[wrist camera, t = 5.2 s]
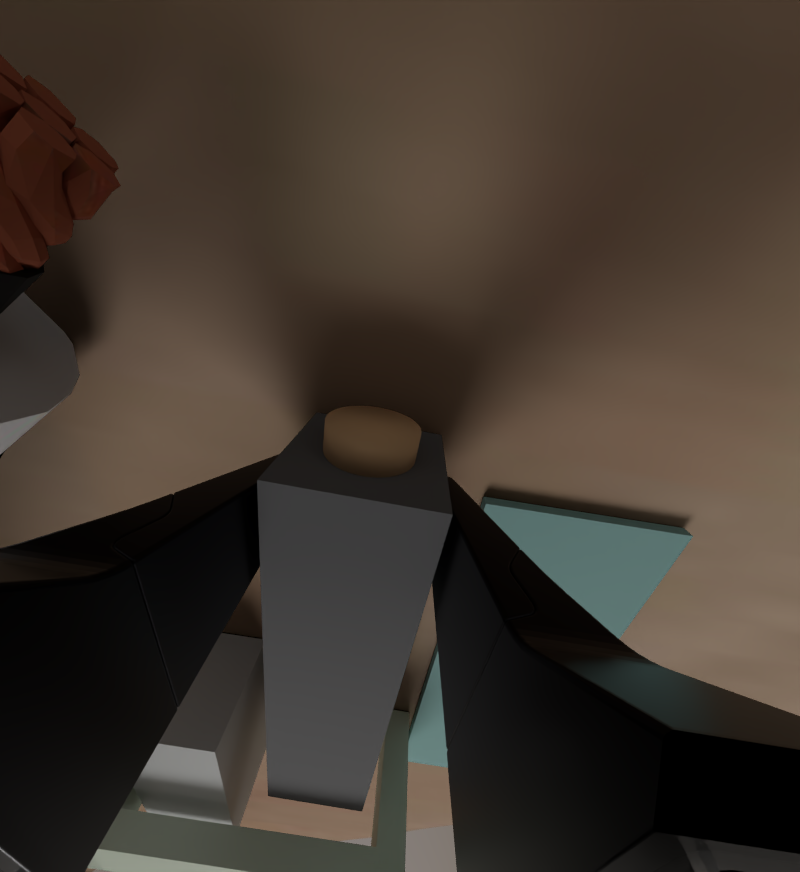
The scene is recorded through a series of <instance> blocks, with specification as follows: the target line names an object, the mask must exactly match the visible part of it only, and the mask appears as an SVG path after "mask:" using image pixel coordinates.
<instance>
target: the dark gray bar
mask: <svg viewBox="0 0 800 872" xmlns="http://www.w3.org/2000/svg"><path fill="white" fill-rule="evenodd" d="M257 494H258V522H259V551H260V579H261V607H262V636H263V664H264V692H265V721H266V749H267V777H268V796H271V797H277V798H283V799H289V800H296V801H302V802H308V803H314V804H320V805H326V806H332V807H338V808H344V809H351V810H357V811H362V809H363V806H364V803H365V800H366V796H367V793H368V790H369V787H370V783H371V780H372V777H373V774H374V770H375V767H376V764H377V760H378V757H379V754H380V751H381V747H382V744H383V741H384V738H385V734H386V731H387V728H388V725H389V721H390V718H391V715H392V711H393V708H394V705H395V702H396V698H397V695H398V692H399V689H400V685H401V682H402V679H403V676H404V672H405V669H406V666H407V662H408V659H409V656H410V653H411V649H412V646H413V643H414V640H415V636H416V633H417V630H418V627H419V623H420V620H421V617H422V613H423V610H424V607H425V604H426V600H427V597H428V594H429V591H430V587H431V584H432V581H433V578H434V574H435V571H436V568H437V565H438V561H439V558H440V555H441V551H442V548H443V545H444V542H445V538H446V535H447V532H448V529H449V525H450V522H451V519H452V516H453V513H452V506H451V499H450V492H449V485H448V478H447V471H446V464H445V457H444V450H443V443H442V436H441V435H439V434H433V433H428V432H422V431H421V428H420V426H419V425H418V424H417V423H416V422H415V421H414V420H412V419H411V418H409V417H407V416H405V415H403V414H401V413H398V412H396V411H392V410H389V409H385V408H380V407H373V406H347V407H341V408H338V409H335V410H333V411H331V412H329V413H328V414H323V413H316V414H315V415H314V416H313V417H312V418H311V420H310V421H309V422H308V423H307V424H306V425H305V426H304V428H303V429H302V430H301V431H300V432H299V433H298V434H297V435H296V437H295V438H294V439H293V440H292V441H291V442H290V443H289V444H288V446H287V447H286V448H285V449H284V450H283V451H282V452H281V453H280V455H279V456H278V457H277V458H276V459H275V460H274V461H273V462H272V464H271V465H270V466H269V467H268V468H267V469H266V470H265V471H264V473H263V474H262V475H261V476H260V477H259V478H258V479H257Z"/></svg>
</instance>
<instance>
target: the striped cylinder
mask: <svg viewBox="0 0 800 872" xmlns="http://www.w3.org/2000/svg"><path fill="white" fill-rule="evenodd" d="M75 120H76V118H75V117H74V116H73V115H72V114H71V112H70V111H69V110H68V109H67V108H66V107H65V106H64V105H63V104H62V103H61V102H60V101H59V100H58V99H57V97H56V96H55V95H54V94H53V93H52V92H51V91H50V90H48V89H47V88H46V87H44V86H43V85H41V84H40V83H39V82H37V81H36V80H35V79H33V78H32V77H30V76H29V75H28V76H26V77H25V78H24V79H23V78H22V76H21V75H20V74H19V73H18V72H17V71H16V70H15V69H14V68H13V67H12V66H11V65H10V64H9V63H8V62H7V61H6V60H5V59H4V58H3V57H2V56H1V55H0V458H1V456H2V455H3V453H4V452H5V451H6V449H7V448H9V447H10V446H11V445H12V444H13V443H14V442H16V441H17V440H18V439H19V438H20V437H21V436H22V435H24V434H25V433H26V432H27V431H28V430H29V429H31V428H32V427H33V426H34V425H35V424H36V423H38V422H39V421H40V420H41V419H42V418H43V417H44V416H46V415H47V414H48V413H49V412H50V411H51V410H53V409H54V408H55V407H56V406H57V405H58V404H60V403H61V402H62V401H63V400H64V399H65V398H66V397H68V396H69V395H70V394H71V393H72V390H73V388H74V386H75V384H76V382H77V379H78V377H79V375H80V374H79V370H78V365H77V360H76V356H75V351H74V346H73V343H72V342H71V341H70V339H69V338H68V337H67V335H66V334H65V332H64V331H63V330H62V329H61V328H60V327H59V326H58V325H57V324H56V323H55V322H54V321H53V320H52V319H51V318H50V317H48V316H47V315H46V314H45V313H44V312H43V311H42V310H41V309H40V308H39V307H38V306H37V305H36V304H35V303H34V302H33V301H32V300H31V299H30V298H29V297H28V296H27V295H26V294H25V293H24V291H25V290H26V289H27V288H28V287H29V286H30V285H31V284H32V283H33V282H34V281H36V280H37V279H38V278H39V277H40V276H41V275H42V274H43V273H44V265H43V264H44V263H45V262H46V261H47V260H48V259H49V254H48V250H47V246H49V245H57V244H63V243H66V242H67V241H68V240H69V239H70V238H71V237H72V232H73V225H74V224H73V220H87V219H91V218H92V217H93V215H94V214H95V213H96V212H97V210H98V209H99V208H100V206H101V205H102V204H103V203H104V201H105V200H106V199H107V198H108V196H109V195H110V194H111V192H112V191H114V190H115V189H117V188H118V187H120V186H121V185H120V184H119V182H118V180H117V179H116V177H115V175H114V173H115V172H116V171H117V169H118V166H117V164H116V162H115V160H114V159H113V158H112V157H111V156H110V155H109V154H108V153H107V151H106V150H105V149H104V148H103V147H102V146H101V145H100V144H99V143H98V142H97V141H96V140H95V139H93V138H92V137H91V136H90V135H88V134H87V133H86V132H85V131H83V130H82V129H79V128H76V127H73V126H74V125H75Z"/></svg>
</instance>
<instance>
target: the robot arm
mask: <svg viewBox="0 0 800 872" xmlns="http://www.w3.org/2000/svg"><path fill="white" fill-rule="evenodd" d="M279 455H280V454H279ZM279 455H276V456H273V457H270V458H268V459H265V460H262V461H260V462H257V463H254V464H251V465H249V466H246V467H243V468H240V469H238V470H235V471H232V472H230V473H227V474H224V475H221V476H219V477H216V478H213V479H211V480H208V481H205V482H202V483H200V484H197V485H194V486H192V487H189V488H186V489H183V490H181V491H178V492H175V493H174V495H173V494H170V495H167V496H164V497H161V498H159V499H156V500H153V501H150V502H148V503H145V504H142V505H139V506H136V507H133V508H130V509H127V510H124V511H121V512H118V513H115V514H112V515H109V516H106V517H102V518H99V519H96V520H93V521H90V522H86V523H83V524H80V525H77V526H73V527H70V528H67V529H64V530H61V531H57V532H54V533H51V534H48V535H44V536H41V537H38V538H35V539H31V540H28V541H25V542H22V543H18V544H15V545H11V546H8V547H4V548H0V872H85V871H86V869H87V867H88V865H89V864H90V862H91V860H92V858H93V857H94V855H95V853H96V851H97V850H98V848H99V846H100V844H101V843H102V841H103V839H104V837H105V836H106V834H107V832H108V831H109V829H110V827H111V825H112V824H113V822H114V820H115V818H116V817H117V815H118V813H119V811H120V810H121V808H122V806H123V804H124V803H125V801H126V799H127V797H128V796H129V794H130V792H131V790H132V789H133V787H134V785H135V783H136V782H137V780H138V778H139V776H140V775H141V773H142V771H143V769H144V768H145V766H146V764H147V762H148V761H149V759H150V757H151V755H152V754H153V752H154V750H155V748H156V747H157V745H158V743H159V741H160V740H161V738H162V736H163V734H164V733H165V731H166V729H167V727H168V726H169V724H170V722H171V721H172V719H173V717H174V715H175V714H176V712H177V707H179V706H180V704H181V703H182V701H183V699H184V697H185V696H186V694H187V692H188V690H189V689H190V687H191V685H192V683H193V682H194V680H195V678H196V676H197V675H198V673H199V671H200V669H201V668H202V666H203V664H204V662H205V661H206V659H207V657H208V656H209V654H210V652H211V650H212V649H213V647H214V645H215V643H216V642H217V640H218V638H219V636H220V635H221V633H222V631H223V629H224V628H225V626H226V624H227V622H228V621H229V619H230V617H231V615H232V614H233V612H234V610H235V608H236V607H237V605H238V603H239V601H240V600H241V598H242V596H243V594H244V593H245V591H246V589H247V587H248V586H249V584H250V582H251V580H252V579H253V577H254V575H255V573H256V572H257V570H258V568H259V567H260V551H259V522H258V494H257V479H258V478H259V477H260V476H261V475H262V474H263V473H264V471H265V470H266V469H267V468H268V467H269V466H270V465H271V464H272V462H273V461H274V460H275V459H276V458H277V457H278V456H279ZM447 478H448V485H449V492H450V499H451V506H452V513H453V516H452V519H451V522H450V525H449V529H448V532H447V535H446V538H445V542H444V545H443V548H442V551H441V555H440V558H439V561H438V565H437V568H436V571H435V574H434V578H433V581H432V586H433V598H434V610H435V621H436V633H437V644H438V656H439V667H440V679H441V690H442V702H443V714H444V725H445V737H446V747H447V761H448V773H449V784H450V796H451V808H452V819H453V829H454V842H455V854H456V865H457V872H800V716H798V715H795V714H792V713H789V712H786V711H784V710H781V709H778V708H775V707H773V706H770V705H767V704H764V703H761V702H759V701H756V700H753V699H750V698H747V697H745V696H742V695H739V694H736V693H734V692H731V691H728V690H725V689H722V688H720V687H717V686H714V685H711V684H708V683H706V682H703V681H700V680H697V679H695V678H692V677H689V676H686V675H683V674H681V673H678V672H675V671H672V670H670V669H667V668H664V667H662V666H660V665H658V664H656V663H654V662H652V661H650V660H648V659H646V658H645V657H643V656H641V655H640V654H638V653H636V652H635V651H634V650H632V649H631V648H629V647H628V646H627V645H625V644H624V643H623V642H622V641H621V640H619V639H618V638H617V637H616V636H615V635H614V634H612V633H611V632H610V631H609V630H608V629H607V628H606V627H605V626H603V625H602V624H601V623H600V622H599V621H598V620H597V619H595V618H594V617H593V616H592V615H591V614H590V613H589V612H588V611H586V610H585V609H584V608H583V607H582V606H581V605H580V604H579V603H577V602H576V601H575V600H574V599H573V598H572V597H571V596H569V595H568V594H567V593H566V592H565V591H564V590H563V589H562V588H561V587H559V586H558V585H557V584H556V583H555V582H554V581H553V580H552V579H551V578H550V577H549V576H547V575H546V574H545V573H544V572H543V571H542V570H541V569H540V568H539V567H538V566H537V565H536V564H535V563H534V562H533V561H532V560H531V559H530V558H529V557H528V556H527V555H526V554H525V553H524V552H523V551H522V550H520V548H519V547H518V546H517V545H516V543H515V542H514V541H513V540H512V539H511V538H510V537H509V536H508V535H507V534H506V533H505V532H504V531H503V530H502V529H501V528H500V527H499V526H498V525H497V524H496V523H495V522H494V521H493V520H492V519H491V518H490V517H489V516H488V515H487V514H486V513H485V512H484V511H483V510H482V508H481V507H480V506H479V505H478V504H477V503H476V502H475V501H474V500H473V499H472V498H471V497H470V496H469V495H468V494H467V493H466V492H465V491H464V490H463V489H462V488H461V487H460V486H459V485H458V484H457V483H456V482H455V481H454V480H453V479H452V478H450V477H447Z"/></svg>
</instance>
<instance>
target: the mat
mask: <svg viewBox="0 0 800 872" xmlns="http://www.w3.org/2000/svg"><path fill="white" fill-rule="evenodd" d="M480 507H481V508H482V510H483V511H484V512H485V513H486V514H487V515H488V516H489V517H490V518H491V519H492V520H493V521H494V522H495V523H496V524H497V525H498V526H499V527H500V528H501V529H502V530H503V531H504V532H505V533H506V534H507V535H508V536H509V537H510V538H511V539H512V540H513V541H514V542H515V543H516V545H517V546H518V547H519V548H520V550H522V551H523V552H524V553H525V554H526V555H527V556H528V557H529V558H530V559H531V560H532V561H533V562H534V563H535V564H536V565H537V566H538V567H539V568H540V569H541V570H542V571H543V572H544V573H545V574H546V575H547V576H549V577H550V578H551V579H552V580H553V581H554V582H555V583H556V584H557V585H558V586H559V587H561V588H562V589H563V590H564V591H565V592H566V593H567V594H568V595H569V596H571V597H572V598H573V599H574V600H575V601H576V602H577V603H579V604H580V605H581V606H582V607H583V608H584V609H585V610H586V611H588V612H589V613H590V614H591V615H592V616H593V617H594V618H595V619H597V620H598V621H599V622H600V623H601V624H602V625H603V626H605V627H606V628H607V629H608V630H609V631H610V632H611V633H612V634H614V635H615V636H616V637H617V638H618V639H619V638H620V637H621V636H622V634H623V633H624V631H625V630H626V629H627V627H628V626H629V624H630V623H631V622H632V620H633V619H634V618H635V616H636V615H637V613H638V612H639V611H640V609H641V608H642V606H643V605H644V604H645V602H646V601H647V600H648V598H649V597H650V595H651V594H652V593H653V591H654V590H655V588H656V587H657V586H658V584H659V583H660V581H661V580H662V579H663V577H664V576H665V575H666V573H667V572H668V570H669V569H670V568H671V566H672V565H673V563H674V562H675V561H676V559H677V558H678V557H679V555H680V554H681V552H682V551H683V550H684V548H685V547H686V545H687V544H688V543H689V541H690V540H691V539H692V537H693V536H692V535H691V534H690V533H689V532H688V531H687V530H685V529H684V528H680V527H674V526H667V525H661V524H655V523H648V522H642V521H636V520H629V519H623V518H617V517H610V516H604V515H598V514H591V513H585V512H578V511H572V510H566V509H559V508H553V507H547V506H540V505H534V504H528V503H521V502H515V501H509V500H502V499H496V498H489V497H483V500H482V503H481V506H480ZM408 761H409V762H415V763H422V764H428V765H435V766H441V767H448V761H447V747H446V737H445V725H444V714H443V702H442V690H441V679H440V667H439V656H438V644H437V645H436V648H435V651H434V654H433V657H432V661H431V664H430V667H429V670H428V673H427V676H426V679H425V683H424V686H423V689H422V692H421V695H420V698H419V701H418V705H417V708H416V711H415V714H414V717H413V720H412V723H411V727H410V730H409V740H408Z"/></svg>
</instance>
